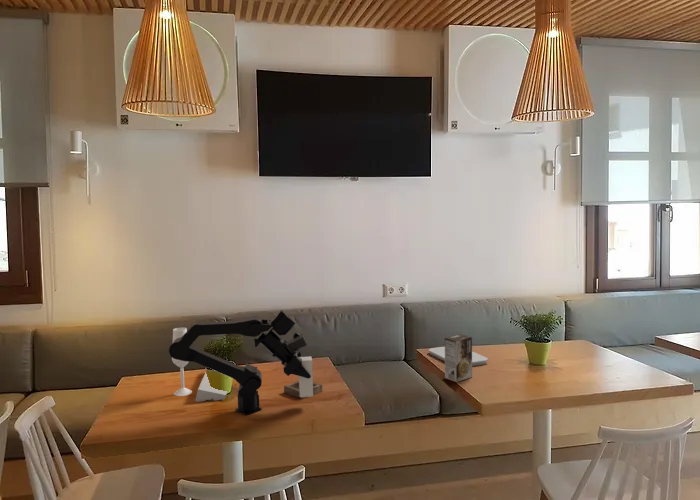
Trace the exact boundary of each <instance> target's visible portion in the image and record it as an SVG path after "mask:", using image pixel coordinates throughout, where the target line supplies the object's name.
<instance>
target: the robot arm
mask: <svg viewBox="0 0 700 500" xmlns="http://www.w3.org/2000/svg"><path fill="white" fill-rule="evenodd" d="M296 324H297V321H296V320H295V319H294V318H293V317H292V316H291V315H290V314H288V313H286V312H285V311H284V310H282V309H281V310H279V311H278V313H277V315H275V316H274V317H273V319H263V318H260V317H259V316H257V315H252V316H248V317H244V318H239V319H238V320H227V321H207V322H202V321H201V322H199V321H196V322H194V323H193V324H192V325H191V327H189V329H188V330H187V332H186V333H185V334H184V335H183V336H182V337H180V338H177V339H175V340H174V342H173V341H172V343H171V345H170V346H169V347H168V348H169V349H168V353H169V355H170V357H171V359H172V358H174V359H177V360H181V361H188V363H189V362H190V363H196V364H199V365H200V366H202V367H205V368H206V369H207V368H210V369H212V370H214V371H217V372H219V373H221V374H224V375H226V376H229V377H231V379H234V381H235V382H237V383H238V384H239V385H238V389H237V408H235V411H236V412H238V413H240V414H243V415H246V416H247V415H251V414H253V413H256V412H259V411H261V410H262V408H263V407H260V394H259V389H261V386H262V382H263V375H262V372H261V371H260V370H259V368H258V366H254V365H251V364H250V363H248V362H246V363H245V366H243V365H242V366H241V365H237V364H235V363H232V362H230V361H228V360H226V359H224V358H223V359H222V358H221V357H218V356H216V355H214V354H211V353H209V352H207V351H205V350H202V349H200V348H199V347H198V346H197V345H196V344H195V343H194V342H195V341H196V340H197V339H198V337H200V336H215V335H240V336H243V337H244V336H245V337H253V341H254V347H255V348H257V347H259V345H260V344H261V345H262V346H263V347H264V349H266V350H268V351H269V352H270V353H271V354H272V357H273V358H276V359H278V360H279V361H280V362H281V363H280V364H281V365H282V366H283V373H284V374H285V375H286V376H288V377H289V376H290V375H294V376H297V377H299V376H301V377H305V378H308V379H309V378H310V377H311V375H310V374H309V373H308V372H307V370H306V369H305V368H304V367H303V365H302V359H300V358H299V357H302V353H301V351H299V350H300V349H301V348H304V347H306V346H307V345H308V342H307V339H306V338H305V336H304V334H303V333H299V332H295V333H293V334H292V338H291V339H290V340H289V341H288V340H287V339H283V338H282V337H280V336H286V335H287V334H288V333H289V332H290V331H291V330H292V329H293V327H295V325H296ZM297 352H298V353H297Z"/></svg>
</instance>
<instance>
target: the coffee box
mask: <svg viewBox="0 0 700 500" xmlns="http://www.w3.org/2000/svg"><path fill="white" fill-rule="evenodd" d="M472 339H473V338H472V336H470V335H469V336H468V335H466V334H462V333H459V334H455V335H451V336H447V337H444V346H445V361H444V378H445V379H446V380H449V381H452V382H456V383H458V382H462V381H463V380H467V379H470V378H473V366H472V351H473V342H472V341H473V340H472Z"/></svg>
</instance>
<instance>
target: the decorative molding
mask: <svg viewBox="0 0 700 500" xmlns="http://www.w3.org/2000/svg"><path fill="white" fill-rule="evenodd" d="M196 391H197V392H196V396H195V403H196V402H205V401H220V400H221V401H224V400H225V399H226V396H227V392H228V390H227V391H223V390H218V389H215V388H213V387H211V386H210V383H209V380H208V377H207V374H206V372H205V373H204V375H203V377H202V379H201V381H200V384H199V387H198V388H197V390H196Z"/></svg>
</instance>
